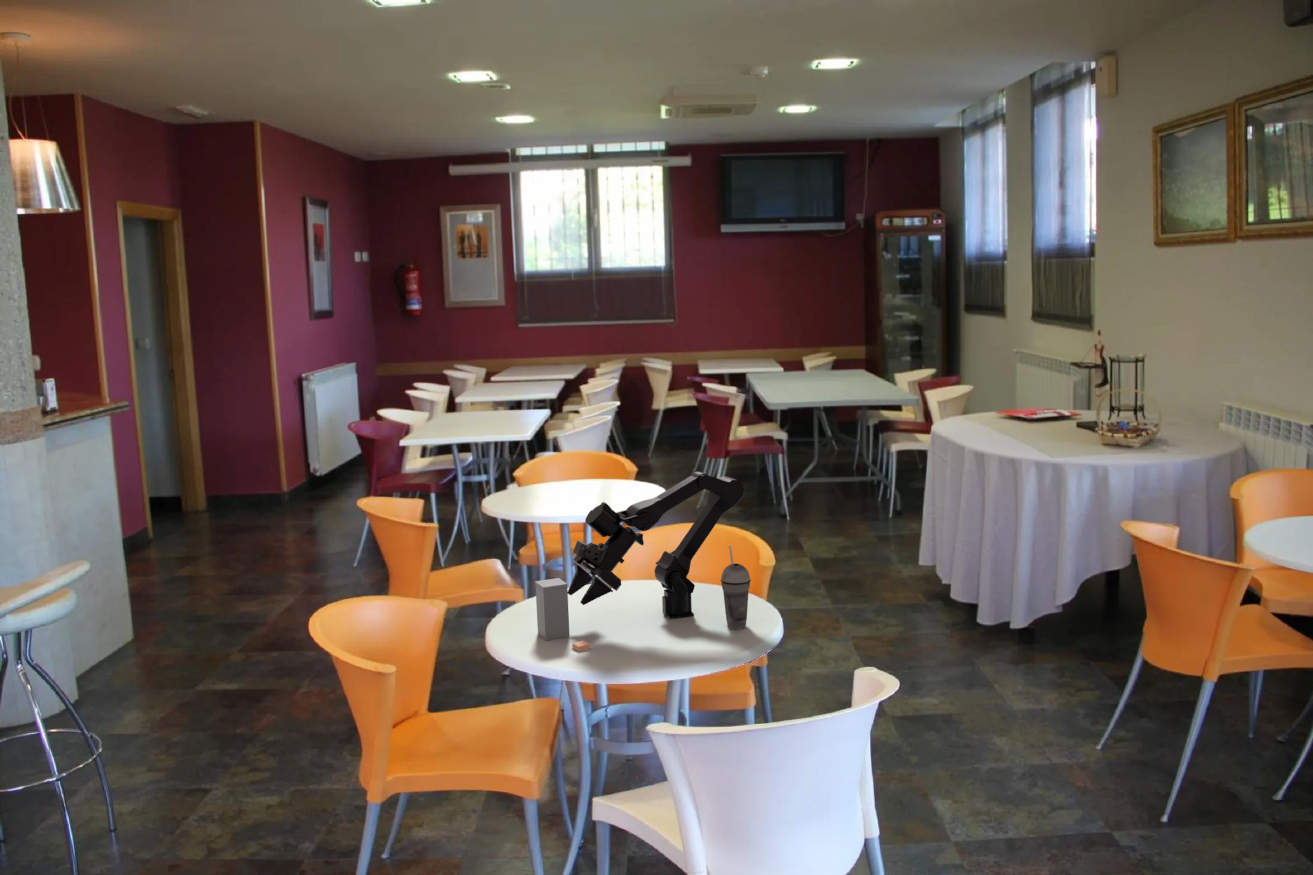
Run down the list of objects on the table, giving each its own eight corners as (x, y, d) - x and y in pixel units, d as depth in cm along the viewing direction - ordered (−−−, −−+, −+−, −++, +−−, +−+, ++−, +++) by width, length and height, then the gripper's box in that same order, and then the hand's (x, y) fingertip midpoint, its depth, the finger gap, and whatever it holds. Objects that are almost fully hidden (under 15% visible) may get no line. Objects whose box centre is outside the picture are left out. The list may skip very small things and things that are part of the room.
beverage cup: (749, 631, 258) (748, 550, 256) (719, 630, 260) (717, 549, 257) (753, 622, 266) (751, 542, 263) (723, 621, 267) (722, 542, 264)
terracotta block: (583, 646, 253) (582, 640, 252) (590, 649, 250) (589, 643, 250) (572, 649, 251) (571, 643, 251) (579, 652, 248) (578, 646, 248)
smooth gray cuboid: (561, 629, 265) (558, 577, 263) (569, 636, 259) (567, 583, 257) (537, 633, 262) (535, 581, 260) (545, 640, 257) (543, 587, 255)
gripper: (579, 521, 270) (539, 570, 267) (606, 536, 253) (564, 589, 250) (609, 547, 274) (571, 596, 272) (638, 564, 258) (598, 616, 255)
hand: (575, 598), depth 262 cm, fingers open, 9 cm apart
